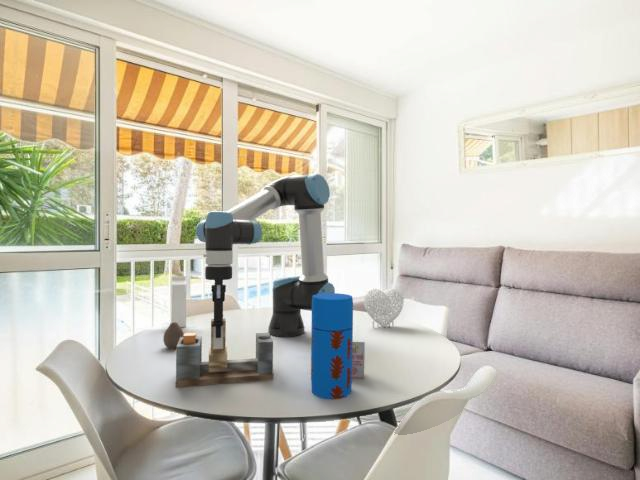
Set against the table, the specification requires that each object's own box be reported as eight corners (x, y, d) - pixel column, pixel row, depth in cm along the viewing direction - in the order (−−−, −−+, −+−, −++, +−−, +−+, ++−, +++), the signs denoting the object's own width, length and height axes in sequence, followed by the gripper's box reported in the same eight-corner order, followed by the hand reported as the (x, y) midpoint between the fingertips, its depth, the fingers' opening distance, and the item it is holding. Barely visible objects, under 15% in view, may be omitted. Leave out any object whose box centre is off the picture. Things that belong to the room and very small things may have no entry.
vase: (177, 350, 133) (177, 325, 133) (159, 349, 135) (159, 324, 135) (187, 345, 140) (187, 321, 140) (170, 344, 142) (170, 320, 141)
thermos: (309, 383, 106) (310, 293, 106) (348, 382, 107) (349, 293, 106) (312, 400, 95) (313, 299, 95) (354, 399, 96) (356, 299, 96)
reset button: (195, 341, 110) (196, 332, 110) (195, 344, 107) (195, 335, 107) (184, 341, 109) (184, 333, 109) (183, 344, 106) (183, 336, 106)
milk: (186, 327, 167) (186, 276, 167) (171, 328, 165) (171, 277, 165) (185, 324, 173) (185, 275, 173) (170, 325, 171) (171, 275, 170)
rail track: (268, 365, 120) (268, 330, 120) (273, 379, 108) (273, 340, 108) (180, 371, 113) (180, 334, 113) (175, 387, 102) (175, 345, 102)
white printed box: (341, 373, 114) (341, 339, 114) (363, 374, 113) (364, 340, 113) (340, 377, 110) (341, 343, 110) (364, 378, 110) (364, 344, 110)
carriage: (226, 363, 114) (227, 316, 114) (227, 372, 107) (227, 322, 107) (209, 364, 113) (209, 317, 113) (208, 373, 106) (209, 322, 106)
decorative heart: (398, 323, 178) (399, 287, 178) (406, 329, 168) (407, 290, 167) (361, 324, 176) (361, 287, 176) (366, 330, 165) (367, 290, 165)
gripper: (206, 263, 117) (205, 339, 117) (203, 267, 101) (203, 356, 101) (231, 263, 119) (231, 338, 119) (233, 267, 103) (232, 354, 103)
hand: (218, 346), depth 110 cm, fingers closed on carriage, 3 cm apart
